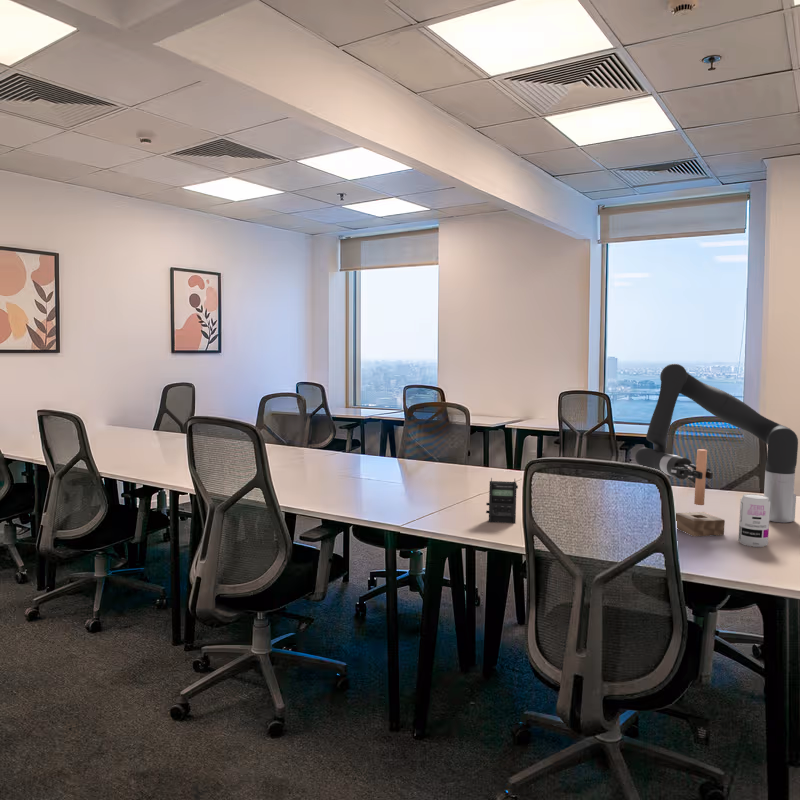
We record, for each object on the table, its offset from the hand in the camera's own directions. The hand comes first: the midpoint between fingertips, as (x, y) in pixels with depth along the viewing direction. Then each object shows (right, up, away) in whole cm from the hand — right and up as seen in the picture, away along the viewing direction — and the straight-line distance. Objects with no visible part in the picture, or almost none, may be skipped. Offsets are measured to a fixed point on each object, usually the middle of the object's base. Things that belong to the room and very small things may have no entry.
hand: (706, 475), depth 227 cm
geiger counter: (-65, -17, +13) cm, 68 cm away
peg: (-1, -10, +4) cm, 10 cm away
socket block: (-1, -19, +4) cm, 19 cm away
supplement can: (+10, -20, -10) cm, 25 cm away
